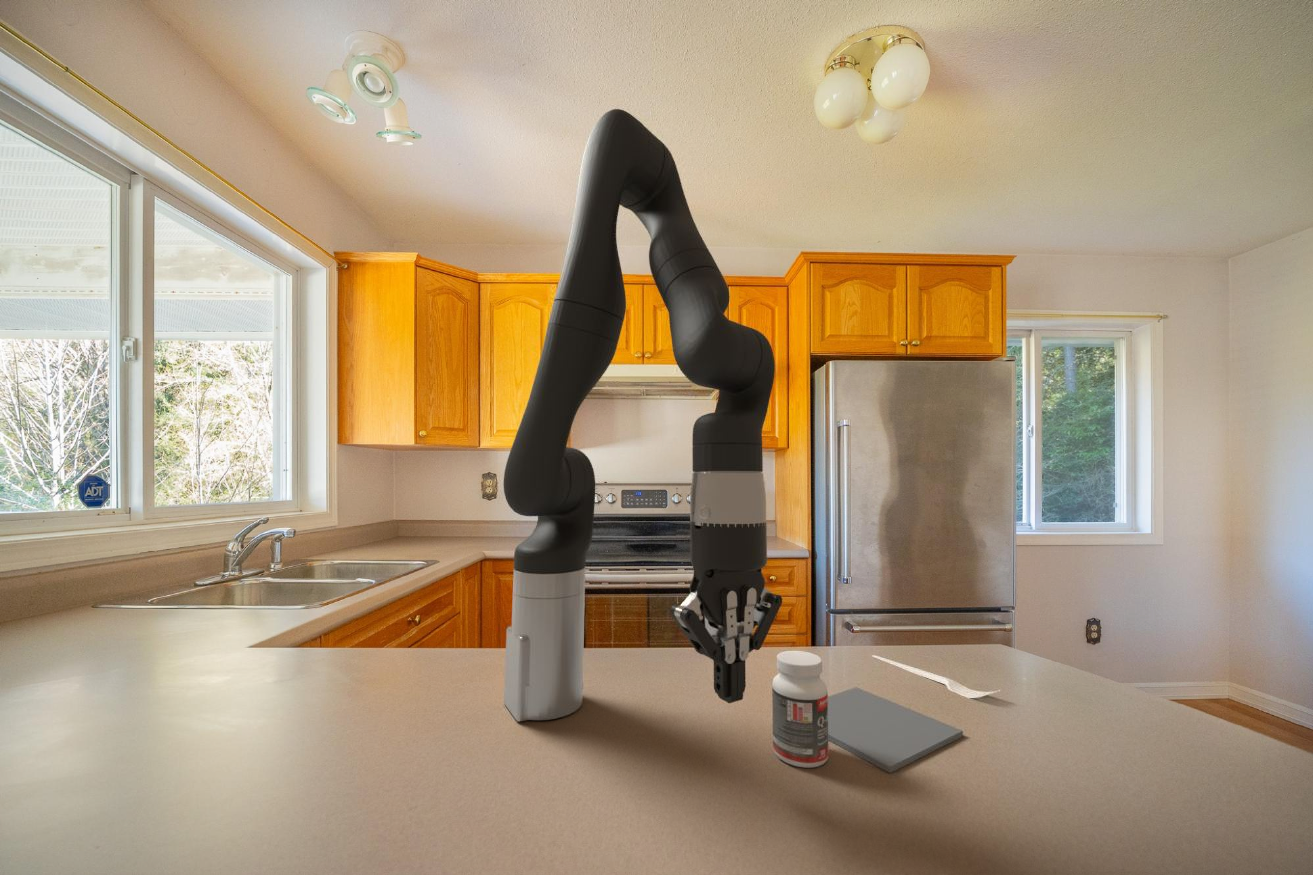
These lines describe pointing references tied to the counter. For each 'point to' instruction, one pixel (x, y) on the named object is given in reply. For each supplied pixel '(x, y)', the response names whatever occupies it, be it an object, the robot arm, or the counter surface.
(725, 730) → the counter surface
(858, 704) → the mat
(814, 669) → the pill bottle
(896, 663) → the fork
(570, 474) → the robot arm
